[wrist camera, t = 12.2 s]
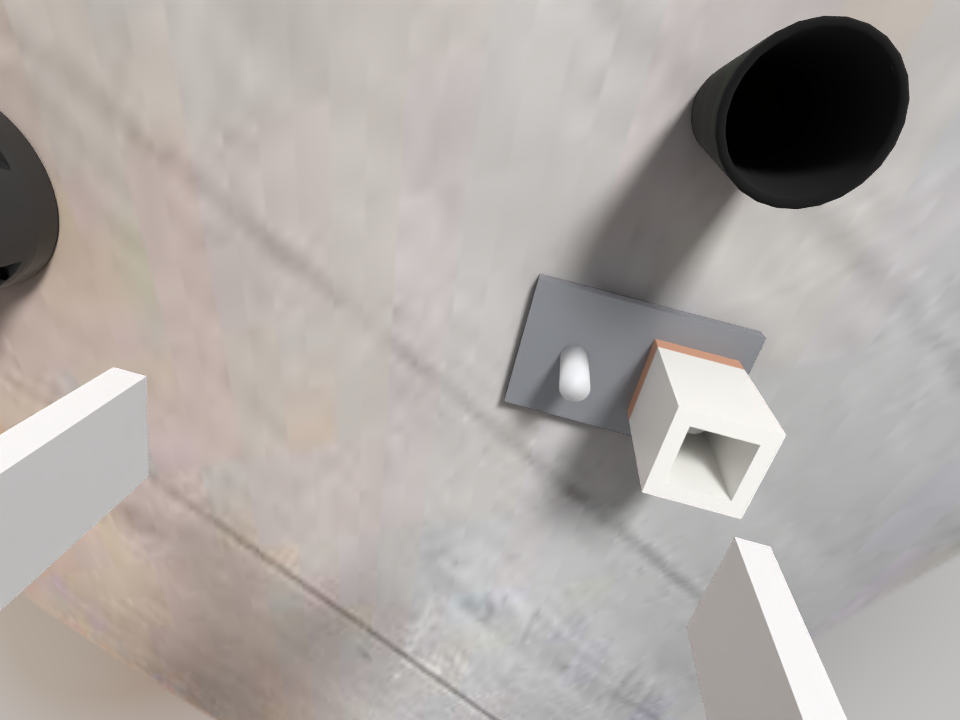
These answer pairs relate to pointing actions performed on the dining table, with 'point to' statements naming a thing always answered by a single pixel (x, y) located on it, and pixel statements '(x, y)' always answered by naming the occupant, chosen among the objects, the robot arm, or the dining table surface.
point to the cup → (805, 111)
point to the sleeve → (708, 406)
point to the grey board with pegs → (605, 350)
